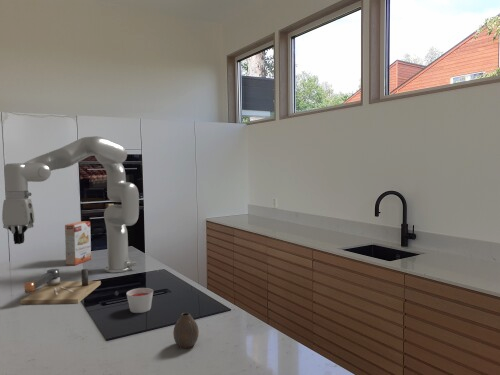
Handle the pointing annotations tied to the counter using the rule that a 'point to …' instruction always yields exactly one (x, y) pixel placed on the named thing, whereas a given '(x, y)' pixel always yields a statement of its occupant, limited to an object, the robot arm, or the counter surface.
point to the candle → (140, 299)
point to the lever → (41, 280)
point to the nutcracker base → (62, 291)
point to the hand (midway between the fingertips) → (19, 243)
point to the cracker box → (77, 242)
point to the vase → (185, 331)
